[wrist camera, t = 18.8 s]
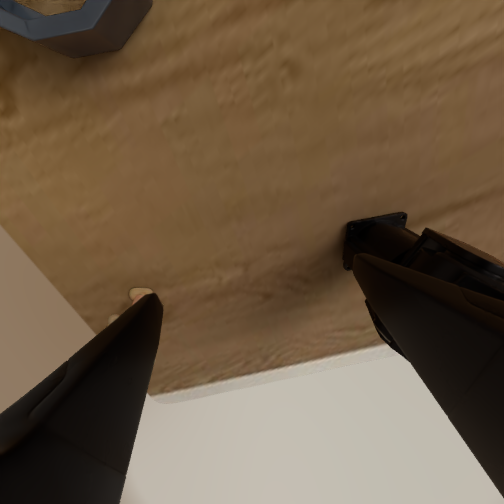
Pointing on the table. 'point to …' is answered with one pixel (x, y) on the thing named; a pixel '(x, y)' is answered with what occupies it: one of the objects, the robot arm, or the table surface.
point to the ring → (77, 25)
